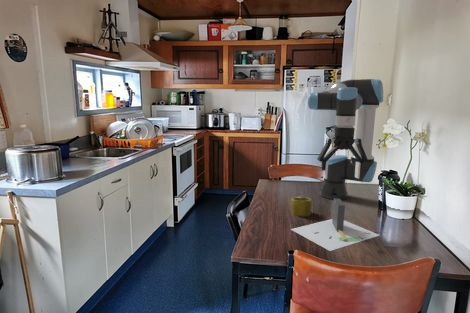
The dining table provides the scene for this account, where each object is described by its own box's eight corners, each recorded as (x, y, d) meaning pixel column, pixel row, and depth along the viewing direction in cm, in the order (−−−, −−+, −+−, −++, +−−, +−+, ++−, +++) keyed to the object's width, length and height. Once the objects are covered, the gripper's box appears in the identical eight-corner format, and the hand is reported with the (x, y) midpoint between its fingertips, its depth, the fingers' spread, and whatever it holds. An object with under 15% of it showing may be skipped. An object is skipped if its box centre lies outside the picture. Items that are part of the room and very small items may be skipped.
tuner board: (337, 219, 150) (337, 217, 149) (379, 237, 131) (380, 234, 131) (290, 231, 136) (290, 228, 135) (329, 253, 117) (329, 250, 117)
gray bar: (332, 222, 143) (333, 198, 141) (338, 222, 142) (340, 198, 140) (341, 240, 125) (343, 213, 123) (348, 240, 125) (350, 213, 123)
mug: (315, 216, 148) (309, 195, 148) (293, 221, 150) (287, 200, 151) (315, 212, 159) (310, 192, 160) (295, 217, 162) (289, 197, 163)
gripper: (317, 127, 126) (314, 180, 130) (379, 127, 128) (374, 179, 132) (311, 125, 133) (308, 175, 137) (370, 125, 135) (365, 175, 139)
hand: (341, 177), depth 134 cm, fingers open, 13 cm apart
